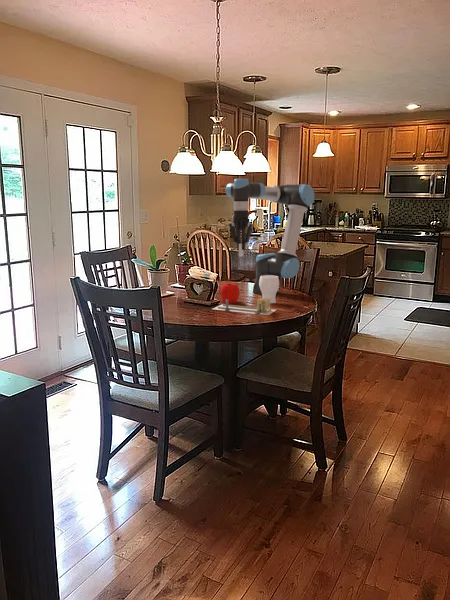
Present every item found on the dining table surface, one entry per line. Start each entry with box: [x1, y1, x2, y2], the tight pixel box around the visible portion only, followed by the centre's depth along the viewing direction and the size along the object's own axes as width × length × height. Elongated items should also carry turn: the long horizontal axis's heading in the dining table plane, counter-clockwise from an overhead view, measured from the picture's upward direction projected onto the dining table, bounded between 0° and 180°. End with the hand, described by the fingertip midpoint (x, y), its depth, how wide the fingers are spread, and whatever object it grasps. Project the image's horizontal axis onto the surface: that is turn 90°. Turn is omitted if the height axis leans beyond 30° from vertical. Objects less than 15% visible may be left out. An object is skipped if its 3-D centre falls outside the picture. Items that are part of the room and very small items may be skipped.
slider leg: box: [256, 297, 271, 313], centre depth 244 cm, size 8×5×6 cm, turn 155°
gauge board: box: [212, 300, 277, 316], centre depth 250 cm, size 12×30×7 cm, turn 65°
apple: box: [220, 282, 240, 305], centre depth 265 cm, size 10×10×12 cm
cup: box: [259, 275, 280, 304], centre depth 267 cm, size 11×11×15 cm
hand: (241, 256), depth 261 cm, fingers closed
